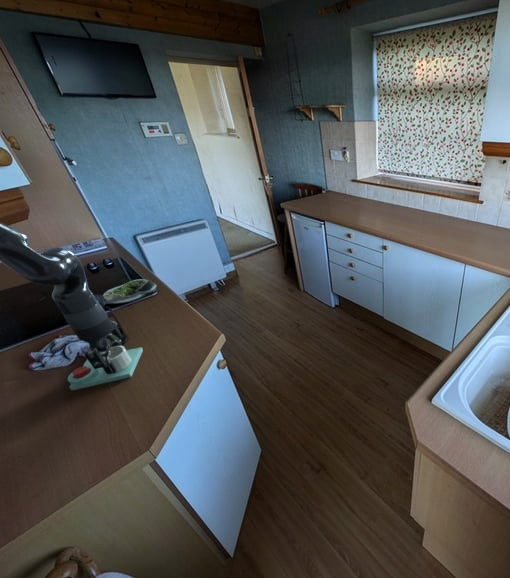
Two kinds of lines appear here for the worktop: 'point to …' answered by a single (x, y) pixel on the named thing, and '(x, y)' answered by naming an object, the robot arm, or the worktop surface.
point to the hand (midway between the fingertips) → (117, 362)
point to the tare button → (81, 372)
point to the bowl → (119, 357)
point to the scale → (101, 376)
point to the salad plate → (130, 291)
